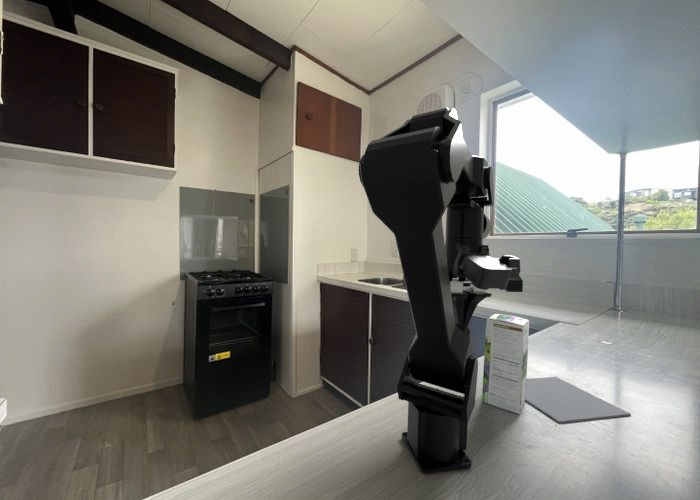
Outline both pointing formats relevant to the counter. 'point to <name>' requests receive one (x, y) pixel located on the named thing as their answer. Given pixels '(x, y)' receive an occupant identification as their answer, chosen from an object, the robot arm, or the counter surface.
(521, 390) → the syrup box
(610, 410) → the mat
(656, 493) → the counter surface
